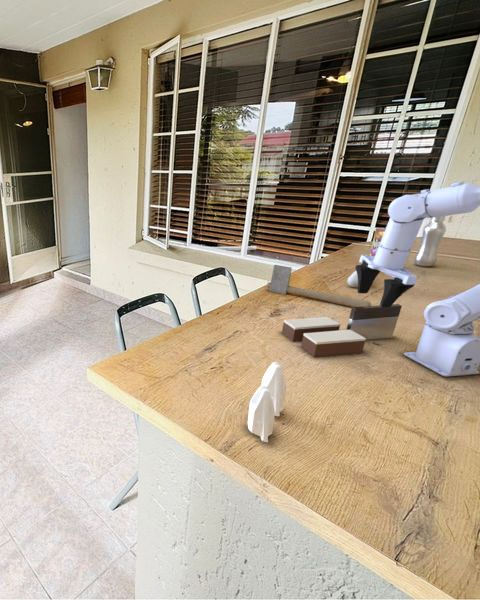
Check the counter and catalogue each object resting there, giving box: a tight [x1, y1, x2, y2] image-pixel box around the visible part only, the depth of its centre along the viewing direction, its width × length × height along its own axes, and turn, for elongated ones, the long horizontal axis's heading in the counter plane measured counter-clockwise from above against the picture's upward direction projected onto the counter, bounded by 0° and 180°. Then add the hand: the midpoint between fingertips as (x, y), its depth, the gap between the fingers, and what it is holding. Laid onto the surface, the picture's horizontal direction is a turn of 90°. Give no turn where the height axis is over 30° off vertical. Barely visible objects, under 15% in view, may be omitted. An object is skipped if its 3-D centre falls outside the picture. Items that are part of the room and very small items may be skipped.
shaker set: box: [246, 361, 287, 443], centre depth 62 cm, size 12×4×11 cm, turn 139°
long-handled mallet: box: [266, 264, 372, 308], centre depth 114 cm, size 10×2×30 cm
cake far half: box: [281, 316, 341, 342], centre depth 92 cm, size 5×12×4 cm, turn 94°
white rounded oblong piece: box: [346, 270, 358, 288], centre depth 125 cm, size 6×6×15 cm
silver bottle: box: [413, 216, 447, 267], centre depth 138 cm, size 6×7×20 cm
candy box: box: [369, 227, 386, 257], centre depth 141 cm, size 9×4×15 cm, turn 160°
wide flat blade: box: [345, 303, 403, 341], centre depth 88 cm, size 1×12×9 cm, turn 93°
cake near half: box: [300, 329, 367, 358], centre depth 85 cm, size 5×12×4 cm, turn 94°
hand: (373, 299), depth 87 cm, fingers open, 7 cm apart
